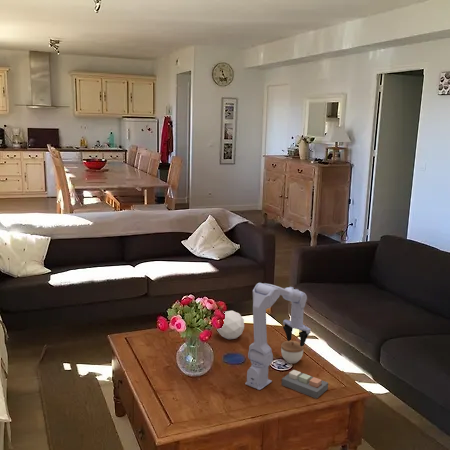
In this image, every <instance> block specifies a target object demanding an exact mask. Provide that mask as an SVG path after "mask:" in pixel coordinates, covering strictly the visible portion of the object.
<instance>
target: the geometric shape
mask: <svg viewBox="0 0 450 450" xmlns="http://www.w3.org/2000/svg"><path fill="white" fill-rule="evenodd" d="M224 312H225V313H224ZM224 312H223V313H224V314H225V319H224V324H223V327H222V328H221V329H217V328H216V331H217V332H218V334H219V335H220V336H221V337H223V338H224V339H227V340H234V339H238V337H240V336H241V335H242V334H243V331H244V330H245V319H244V318H243V316H242V315H241V314H240V313H239V312H236V311H234V310H227V311H224Z"/></svg>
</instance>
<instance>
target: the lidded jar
mask: <svg viewBox="0 0 450 450" xmlns="http://www.w3.org/2000/svg"><path fill="white" fill-rule="evenodd" d="M304 348H305V345H304V346H300V341H296V340H290V341H287V340H285V341H283V342H282V343H281V344H280V351H281V357H282V358H283V360H284V361H285V360H286V361H287V362H286V361H285V362H286V363H288V362H289V363H288V364H297V363H298V362H299V361H300V360H301V359H302V358H303V354H304Z"/></svg>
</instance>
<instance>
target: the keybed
mask: <svg viewBox="0 0 450 450" xmlns="http://www.w3.org/2000/svg"><path fill="white" fill-rule="evenodd" d="M302 374H303V372H301V375H302ZM313 377H314V376H311V379H312V378H313ZM281 386H282V387H285V388H288V389H290V390H293V391H296V392H298V393H301V394H303V395H306V396H309V397H312V398H313V399H318V398H319V397H321V395H323V394H324V393H325V392H327V391H328V390H329V389H328V388H329V382H327V381H325V380H322V384H321V386H320V387H319V388H315V387H312V386H310V385H309V383H308V384H305V383H302V382H299V379H298V380H294V379H291V378H289V373H287V374H286V375H285V376H283V377H282V378H281Z"/></svg>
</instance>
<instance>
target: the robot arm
mask: <svg viewBox="0 0 450 450" xmlns="http://www.w3.org/2000/svg"><path fill="white" fill-rule="evenodd" d="M294 288H295V287H293V286H289V287H281V286H278V285H275V284H271V283H266V282H264V283H262V282H258V283H256V284H255V286H254V287H253V289H252V318H253V319H252V321H253V342H252V343H251V344H249V347H248V353H247V358H248V360H250V363H251V365H250V367H249V368H248V369H247V371H246V382H245V383H244V384H245V385H247V386H249V387H250V388H254V389H257V390H258V391H261V390H262V389H264V388H265V387H266V386H268V385H269V384H270V383H272V382H273V381H272V380H271V379H270V378H269V366H270V365H271V364H272V362H273V360H274V355H273V352H272V348H271V346H270V345H269V343H268V338H267V336H268V335H267V333H268V332H267V309H271V307H272V306H273V305H274V304H275V303H276V301H278V299H279V298H280V296H282V298H283V300H286V301H289V302H291V307H290V308H291V310H290V319H284V320H283V321H282V325H283V327H282V329H283V331H284V333H285V337H286V341H292V336H293V335H292V333H293V330H294V329H296V330H298V331H300V332H299V333H298V334H299V339H300V341H299V342H300V346H304V347H305V343H306V340H307V339H308V336H309V335H310V333H311V328H309V327H308V326H307V325H305V324H304V311H305V307H306V303H307V301H308V296H307V294H306V293H305V292H304V291H301V290H299V288H295V289H294Z"/></svg>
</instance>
